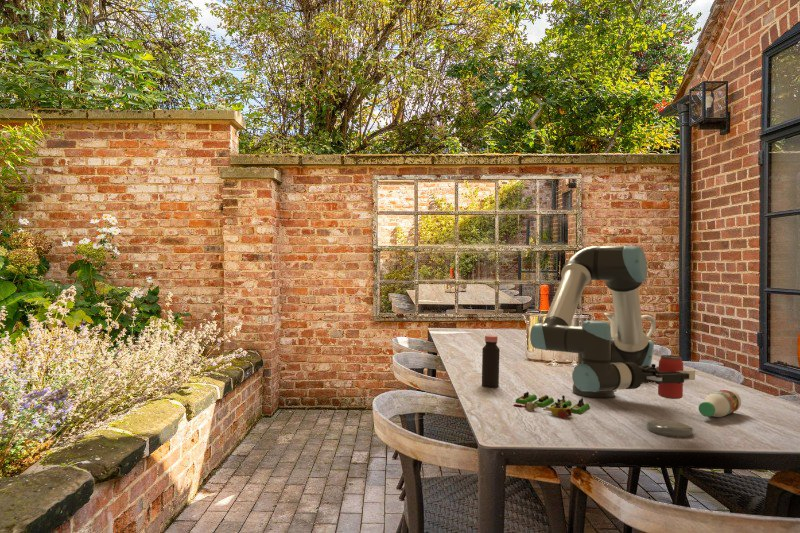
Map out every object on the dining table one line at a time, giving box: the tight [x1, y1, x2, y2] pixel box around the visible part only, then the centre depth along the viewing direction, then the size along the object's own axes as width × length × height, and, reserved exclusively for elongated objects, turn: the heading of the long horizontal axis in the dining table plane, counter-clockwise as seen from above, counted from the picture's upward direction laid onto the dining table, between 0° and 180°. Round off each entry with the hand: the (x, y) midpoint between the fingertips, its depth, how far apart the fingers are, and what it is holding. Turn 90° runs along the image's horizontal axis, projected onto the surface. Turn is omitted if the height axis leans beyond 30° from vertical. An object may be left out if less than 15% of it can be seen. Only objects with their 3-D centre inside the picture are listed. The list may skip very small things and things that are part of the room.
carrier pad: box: [646, 419, 693, 438], centre depth 159 cm, size 12×12×2 cm
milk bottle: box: [698, 388, 742, 418], centre depth 177 cm, size 8×8×20 cm
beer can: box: [657, 354, 684, 400], centre depth 159 cm, size 7×7×12 cm
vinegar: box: [481, 334, 500, 388], centre depth 215 cm, size 7×7×20 cm
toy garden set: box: [513, 391, 591, 419], centre depth 183 cm, size 23×19×5 cm
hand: (683, 372), depth 160 cm, fingers closed on beer can, 6 cm apart
